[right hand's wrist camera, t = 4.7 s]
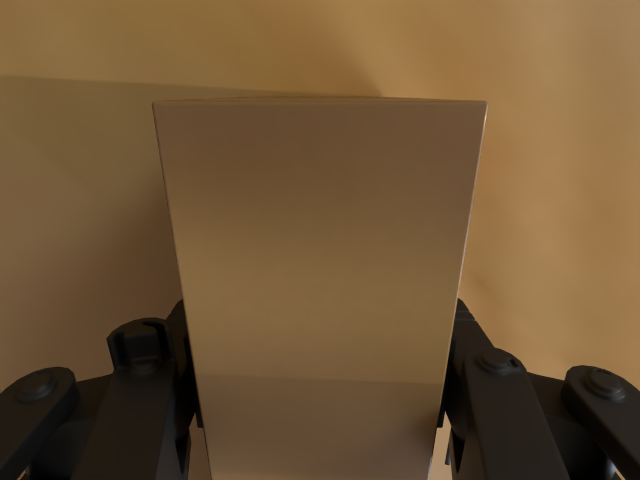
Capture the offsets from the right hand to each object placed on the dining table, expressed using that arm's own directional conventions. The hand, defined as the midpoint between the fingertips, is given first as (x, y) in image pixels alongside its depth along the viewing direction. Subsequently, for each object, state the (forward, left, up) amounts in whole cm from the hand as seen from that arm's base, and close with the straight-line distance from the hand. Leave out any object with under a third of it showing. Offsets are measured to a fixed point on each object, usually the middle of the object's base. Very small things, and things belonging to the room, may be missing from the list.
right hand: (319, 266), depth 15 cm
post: (+7, -21, -1) cm, 22 cm away
